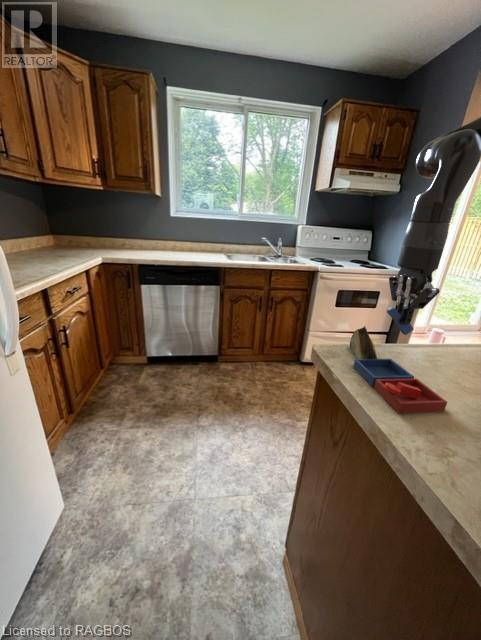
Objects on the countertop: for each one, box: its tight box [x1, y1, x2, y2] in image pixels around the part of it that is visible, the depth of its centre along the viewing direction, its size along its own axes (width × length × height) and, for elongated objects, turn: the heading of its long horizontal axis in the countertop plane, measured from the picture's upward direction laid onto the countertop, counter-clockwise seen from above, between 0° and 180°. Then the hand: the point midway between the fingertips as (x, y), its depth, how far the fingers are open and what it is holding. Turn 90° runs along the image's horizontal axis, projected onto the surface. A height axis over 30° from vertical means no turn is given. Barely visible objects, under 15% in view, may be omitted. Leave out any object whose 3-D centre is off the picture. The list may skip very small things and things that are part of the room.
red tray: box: [373, 377, 448, 414], centre depth 59 cm, size 10×9×2 cm
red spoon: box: [384, 382, 422, 399], centre depth 58 cm, size 8×3×2 cm, turn 96°
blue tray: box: [353, 358, 415, 387], centre depth 68 cm, size 10×9×2 cm
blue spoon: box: [386, 306, 414, 336], centre depth 63 cm, size 8×3×2 cm
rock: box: [349, 325, 378, 359], centre depth 76 cm, size 11×9×10 cm
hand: (401, 322), depth 63 cm, fingers closed on blue spoon, 1 cm apart
